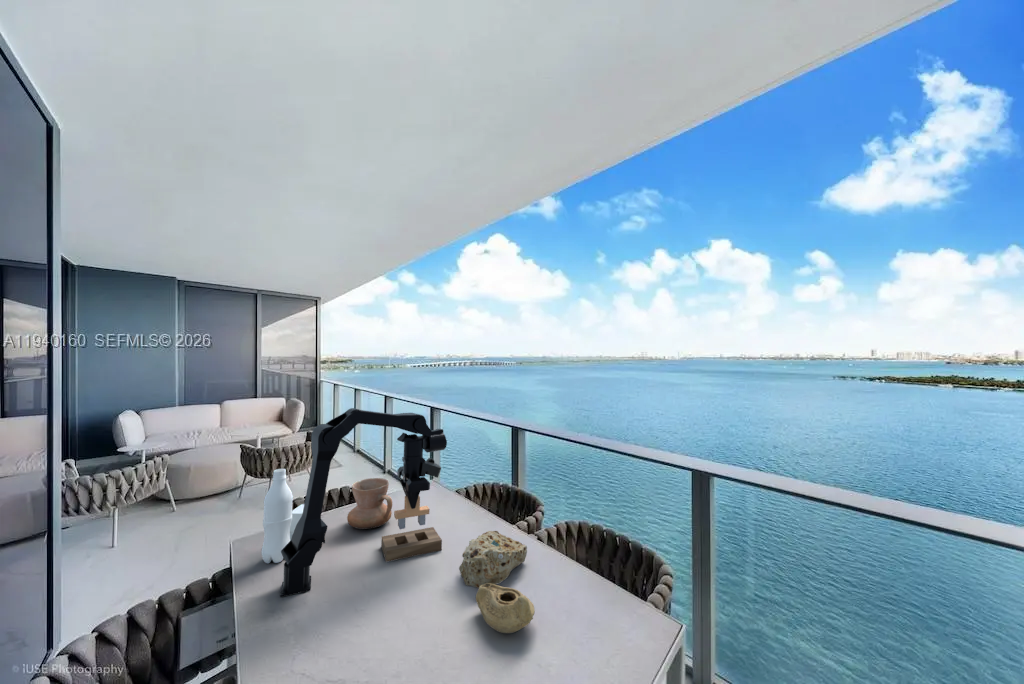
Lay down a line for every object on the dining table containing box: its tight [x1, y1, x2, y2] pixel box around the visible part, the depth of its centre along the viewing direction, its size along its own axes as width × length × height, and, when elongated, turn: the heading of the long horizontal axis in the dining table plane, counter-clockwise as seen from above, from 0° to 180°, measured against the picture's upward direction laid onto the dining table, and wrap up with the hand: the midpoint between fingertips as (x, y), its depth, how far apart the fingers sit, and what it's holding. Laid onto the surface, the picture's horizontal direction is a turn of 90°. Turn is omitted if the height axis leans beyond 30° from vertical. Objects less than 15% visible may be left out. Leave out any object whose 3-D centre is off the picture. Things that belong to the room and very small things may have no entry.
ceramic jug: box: [346, 477, 393, 530], centre depth 133 cm, size 18×14×14 cm
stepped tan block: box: [393, 495, 430, 530], centre depth 116 cm, size 3×10×8 cm, turn 116°
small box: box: [290, 503, 305, 540], centre depth 119 cm, size 8×6×10 cm
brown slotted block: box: [380, 526, 443, 563], centre depth 116 cm, size 10×16×3 cm, turn 116°
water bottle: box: [261, 468, 294, 564], centre depth 110 cm, size 7×7×25 cm
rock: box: [458, 530, 528, 589], centre depth 104 cm, size 21×14×10 cm
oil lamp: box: [475, 583, 536, 634], centre depth 83 cm, size 11×15×8 cm
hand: (412, 506), depth 116 cm, fingers closed on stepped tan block, 3 cm apart
